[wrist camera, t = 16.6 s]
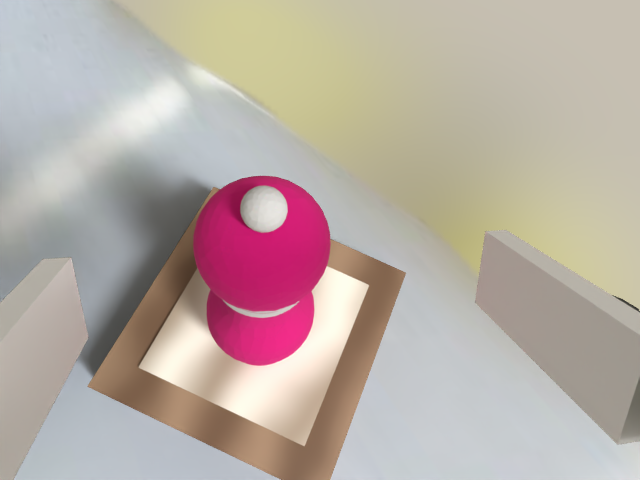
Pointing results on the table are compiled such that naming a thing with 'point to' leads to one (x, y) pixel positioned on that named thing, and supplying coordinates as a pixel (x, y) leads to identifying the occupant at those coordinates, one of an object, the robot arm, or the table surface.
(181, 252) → the walnut stand
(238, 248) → the pepper mill
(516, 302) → the robot arm
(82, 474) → the table surface
